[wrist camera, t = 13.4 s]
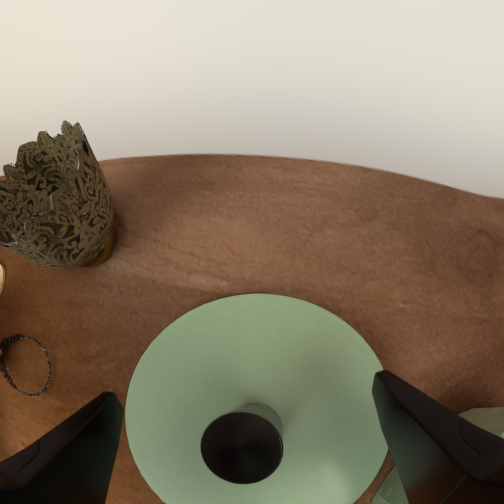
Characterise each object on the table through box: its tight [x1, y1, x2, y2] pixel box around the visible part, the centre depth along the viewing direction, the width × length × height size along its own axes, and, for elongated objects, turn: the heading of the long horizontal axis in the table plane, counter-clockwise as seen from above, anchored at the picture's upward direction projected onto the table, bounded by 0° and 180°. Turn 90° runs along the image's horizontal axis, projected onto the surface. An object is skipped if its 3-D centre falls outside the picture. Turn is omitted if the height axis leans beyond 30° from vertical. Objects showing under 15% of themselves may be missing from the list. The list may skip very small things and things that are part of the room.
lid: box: [125, 294, 388, 504], centre depth 9 cm, size 13×13×6 cm
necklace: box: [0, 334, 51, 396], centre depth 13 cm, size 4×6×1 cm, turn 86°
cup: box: [0, 121, 114, 270], centre depth 14 cm, size 8×7×8 cm
